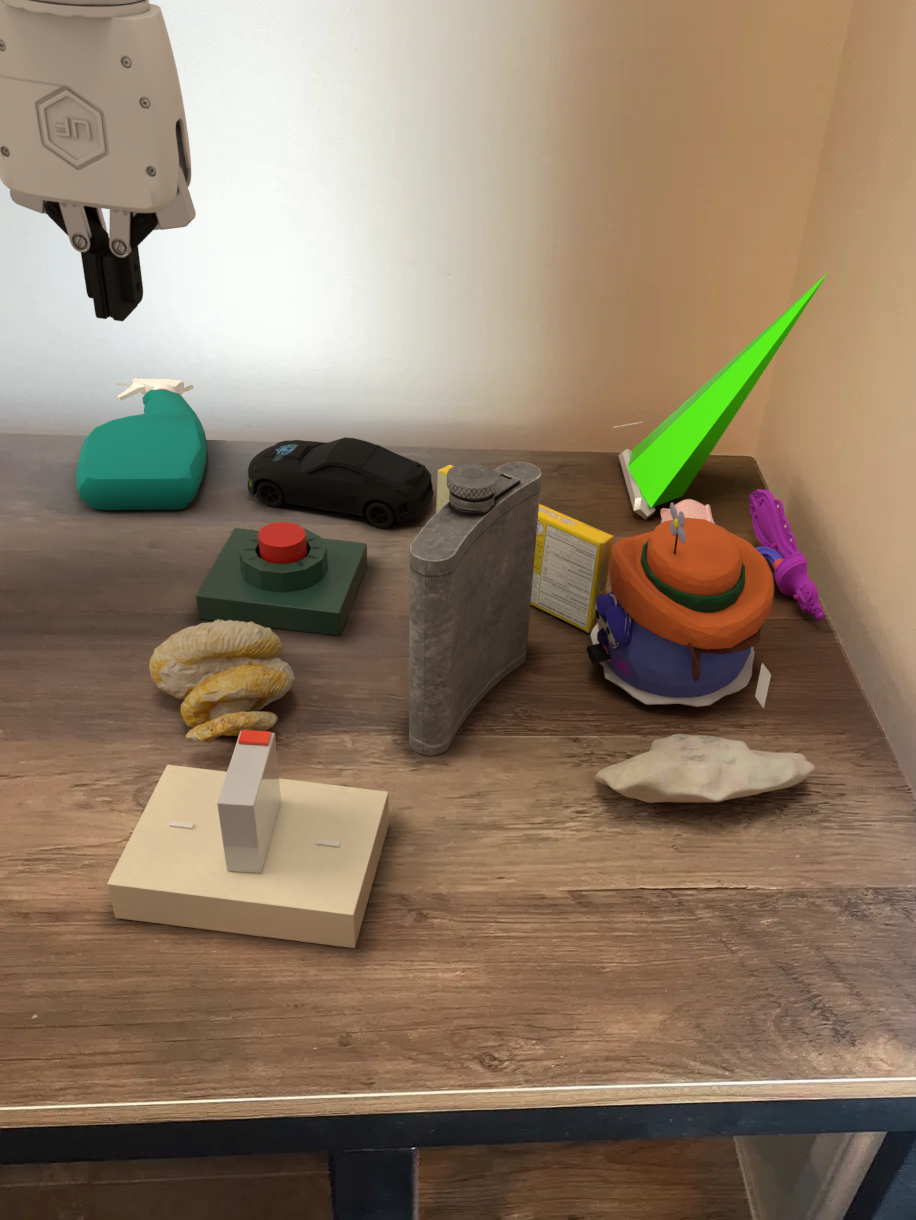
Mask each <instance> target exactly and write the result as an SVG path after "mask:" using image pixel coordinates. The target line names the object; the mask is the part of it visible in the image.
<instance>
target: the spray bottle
mask: <svg viewBox="0 0 916 1220" xmlns="http://www.w3.org/2000/svg"><path fill="white" fill-rule="evenodd" d="M132 382H133V384H132V385H130V384H126V383H116V385H117V386H127V387H128V386H129V387H128V388H127V389H125V390H124V391H123V392H121V393H119V395H117V396H116V398H117V401H119V402H121V401H123V400H124V401H125V400H126V399H129V398H131V397H133V396H136V395H138V394H142V395H143V396H142V404H143V405H144V406H143V412H144V413H142V414H141V413H140V414H133V415H128V416H124V417H119V418H115V419H111V420H109V421H108V422H105V423H103V424H100V425H98V426H96V427H94V428H93V429H92V430H91V432H89V434H88V435H87V436H86V437H85V438H84V441H83V443H82V445H81V447H80V451H79V456H78V461H77V466H76V470H75V486H76V490H77V492H78V494H79V497H80V499H81V501H82V502H83V503H84V504H86V505H88V506H89V507H90V508H92V509H93V510H99V511H155V510H157V511H161V510H164V511H165V510H171V511H172V510H173V511H174V510H175V511H176V510H177V511H178V510H182V509H186V508H187V507H188V506H189V504H190V503H191V502H192V501H193V500H194V499H195V498H196V496H197V494H198V491H199V489H200V486H201V483H202V481H203V478H204V475H205V470H206V465H207V459H208V458H207V457H208V455H207V454H208V448H207V447H208V441H207V438H206V437H207V436H206V431H205V429H204V426H203V423H202V422H201V420H200V418H199V417H198V415H197V413H196V412H195V411H194V410H193V408H192V407H191V405H190V404H189V403H188V401H187V400H185V398H184V397H183V396H182V395H183V394H185V393H186V392H189V391H192V390H194V384H193V385H190V386H187V387H185V388H184V383H183V381H181V380H171V379H154V378H153V379H141V378H140V379H137V378H135V379H132Z"/></svg>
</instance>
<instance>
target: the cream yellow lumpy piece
mask: <svg viewBox="0 0 916 1220" xmlns="http://www.w3.org/2000/svg"><path fill="white" fill-rule="evenodd" d="M281 641H282V640H281V639H280V637H279V635H277V634H276V633H275V631H272V628H271V627H263V626H261V625H258V624H255V623H254V622H247V623H246V622H239V621H232V620H228V621H224V620H220V619H218V620H215V621H213V622H211V621H210V622H200V623H199V624H196V625H192V626H188V627H185V628H184V629H181V630H180V629H179V631H177V632H175V633H173V634H170V636H169V637H168V638H166V639H165V640H164V641H162V643H161V644H159V646H157V647H155V648H154V650H153V654H152V655H151V656H150V659H149V665H148V666H149V667H148V668H149V669H148V670H149V673H150V678H151V680H152V682H153V684H154V685H155V686H156V687H157V688H158V690H162V692H166V694H168V695H170V696H171V697H174V698H175V699H177V700H180V701H182V702H181V704H180V715H181V717H182V719H183V721H184V723H185V725H187V727H189V728H191V729H190V730H189V731H187V733H186V734H185V738H186V739H188V740H192V741H194V742H196V743H197V742H204V743H207V744H211V743H213V742H214V741H215V739H216V738H218V737H220V736H229V737H239V734H240V731H242V730H253V731H268V730H270V729H272V728H273V727H274V726H275V725H276V723H277V722H278V720H279V718H278V716H277V714H275V713H274V712H272V711H261V710H262V709H264V707H266V706H268V705H269V704H270V703H272V702H274V701H277V700H280V699H281V698H282V697H284V695H286V694H287V693H288V692H289V691H290V689H291V687H292V686H293V684H294V682H295V674H294V671H293V668H292V667H291V665H289V663H288V662H286V661H283V660H282V659H281V658H280V657H279V656H281V652H282V649H283V647H282V642H281Z"/></svg>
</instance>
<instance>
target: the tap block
mask: <svg viewBox="0 0 916 1220" xmlns="http://www.w3.org/2000/svg"><path fill="white" fill-rule="evenodd" d="M226 774H227V771H224V770H216V769H209V768H199V767H191V766H183V765H175V764H166V766H165V768H164V770H163V772H162V774H161V776H160V778H159V780H158V782H157V784H156V786H155V788H154V790H153V792H152V794H151V796H150V798H149V800H148V801H147V803H146V806H145V808H144V809H143V812H142V814H141V816H140V818H139V820H138V822H137V823H136V825H135V828H134V830H133V831H132V833H131V835H130V837H129V839H128V842H127V844H126V846H125V847H124V850H123V851H122V853H121V855H120V857H119V859H118V861H117V863H116V865H115V867H114V869H113V871H112V873H111V874H110V877H109V879H108V881H107V883H106V886H107V890H108V893H109V897H110V898H109V899H110V902H111V907H112V909H113V915H114V918H115V919H120V920H128V921H137V922H144V923H151V924H152V923H153V924H160V925H168V926H175V927H184V928H190V929H199V930H208V931H213V932H214V931H215V932H223V933H231V934H239V935H245V936H246V935H247V936H255V937H262V938H271V939H277V940H278V939H279V940H286V941H294V942H300V943H301V942H303V943H310V944H318V945H325V946H334V947H341V948H350V949H356V946H357V943H358V938H359V935H360V931H361V928H362V925H363V920H364V916H365V914H366V909H367V906H368V902H369V898H370V895H371V891H372V887H373V884H374V881H375V876H376V873H377V869H378V865H379V861H380V858H381V855H382V852H383V851H382V850H383V847H384V844H385V840H386V836H387V832H388V829H389V826H390V825H389V824H390V819H389V818H390V816H389V791H388V790H387V791H385V790H379V789H370V788H362V787H361V788H360V787H354V786H344V785H337V784H329V783H321V782H314V781H313V782H312V781H305V780H296V779H289V778H281V777H279V783H280V793H281V803H280V806H279V810H278V814H277V817H276V821H275V825H274V829H273V832H272V836H271V840H270V844H269V847H268V851H267V855H266V859H265V862H264V866H263V870H262V873H250V872H235V871H227V868H226V862H225V855H224V848H223V841H222V834H221V827H220V821H219V814H218V807H217V801H218V798H219V795H220V792H221V789H222V786H223V783H224V780H225V777H226Z"/></svg>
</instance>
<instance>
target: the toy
mask: <svg viewBox="0 0 916 1220" xmlns="http://www.w3.org/2000/svg"><path fill="white" fill-rule="evenodd" d="M642 423H644V422H643V421H639V422H633V423H626V424H621V425H616V426H612V428H621V427H626V426H631V425H637V424H642ZM675 505H676V504H675V503H674V502H670V505H669V509H670V512H671V515H672V518H673V519H674V520H669V521H664V522H663V523H661V522H660V523H661V524H658V525H657V526H655V528H654V530H652V531H647V532H645V533H641V534H637V535H634V536H633V535H632V536H630V537H623V538H620V539H618V540H617V541H616V542H615V543H614V545H612V550H611V556H610V562H609V569H608V574H609V580H610V587H611V591H610V592H607V593H605V594H601V595H597V597H596V604H595V607H594V612H595V615H596V618H597V619H596V620H597V624H596V626H595V627H594V628H593V630H592V631H591V632H590V633H589V634H590V640H591V643H592V644H591V645H588V646H586V653H587V657H588V659H589V660H590V662H591V664H593V665H595V664H600V665H601V666H602V667H603V673H604V674H603V675H604V679H605V680H608V681H610V682H611V683H613V684H615V685H617V686H618V687H620V688H621V689H622V690H623V691H625V692H626V693H627V694H628V695H630V696H631V697H632V698H634V699H635V700H637V701H639V702H641V703H642V704H644V705H646V706H650V705H651V706H652V705H653V706H654V705H677V704H679V705H685V706H691V707H695V708H698V707H707V706H708V707H709V706H711V705H712V704H714V703H715V702H718V701H720V699H722V698H724V697H726V696H728V695H732V694H734V693H738V692H739V691H741V690H742V689H744V688H745V687H747V686H748V684H749V682H750V680H751V678H752V675H753V664H754V658H755V652H756V651H755V650H754V646H755V645H757V644H758V643H759V642H760V640H761V631H762V625H763V624H764V622H765V621H766V619H767V618H768V616H769V615H770V614H771V610H772V606H773V600H774V595H775V580H774V573H773V572H772V570H771V568H770V565H769V562H768V560H767V559H766V558H764V557H763V556H762V555H761V554H760V553H759V552H758V551H757V550H756V549H755V548H756V547H754V546H753V544H752V543H751V542H749V541H747V540H746V539H743V538H742V537H740V536H739V535H736V534H734V533H732V532H729V531H728V530H727V529H726V528H724V527H723V526H721V525H718V524H716V523H715V522H714V523H715V524H714V523H712V522H709V521H707V520H705V519H696V518H685V517H684V513H683V512H682V511H680V512H679V514H678V512H677V509H676V507H675ZM759 670H760V671H759V675H758V681H757V685H756V690H755V695H754V697H755V699H756V700H757V701H758V703H759V704H760V706H761V707H762V709H765V705H766V701H767V695H768V692H769V687H770V682H771V677H772V674H771V672H770V671H769V669H768V668H767V667H766V666H765V664H764V662H761V666H760V669H759Z"/></svg>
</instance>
